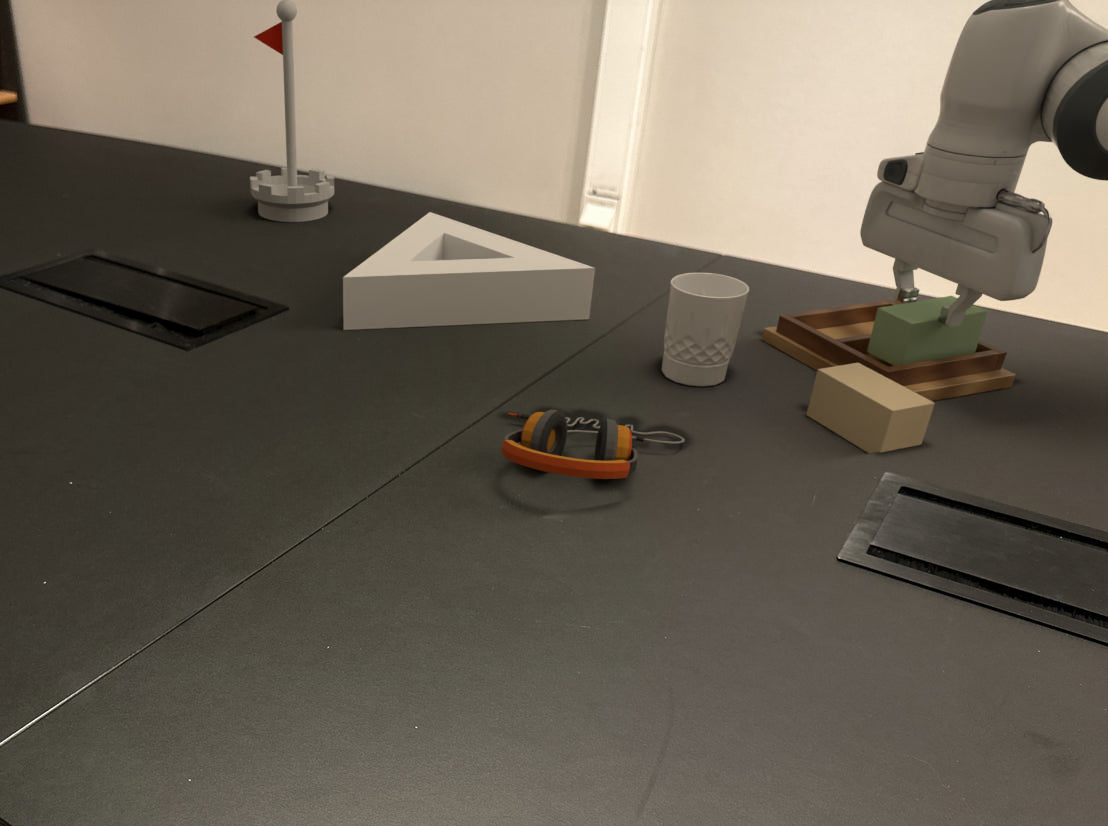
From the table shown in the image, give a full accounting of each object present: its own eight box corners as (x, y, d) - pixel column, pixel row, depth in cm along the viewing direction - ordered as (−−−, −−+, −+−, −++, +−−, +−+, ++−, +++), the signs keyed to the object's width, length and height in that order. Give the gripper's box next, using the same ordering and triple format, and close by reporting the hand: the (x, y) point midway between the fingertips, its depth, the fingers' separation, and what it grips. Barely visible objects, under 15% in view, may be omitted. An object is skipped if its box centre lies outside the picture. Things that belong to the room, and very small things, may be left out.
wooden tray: (876, 323, 128) (884, 295, 126) (1011, 387, 112) (1022, 356, 110) (761, 339, 122) (767, 311, 121) (885, 409, 107) (895, 377, 105)
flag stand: (344, 204, 170) (342, -4, 154) (321, 226, 159) (317, 5, 143) (267, 198, 172) (258, -7, 156) (239, 220, 161) (226, 1, 145)
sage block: (938, 338, 116) (951, 295, 114) (974, 355, 112) (988, 310, 110) (866, 352, 113) (877, 307, 111) (900, 369, 109) (912, 323, 107)
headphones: (692, 408, 100) (668, 453, 82) (682, 461, 102) (656, 516, 84) (522, 380, 105) (464, 417, 87) (515, 432, 107) (457, 478, 89)
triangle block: (428, 257, 147) (429, 212, 143) (613, 282, 139) (619, 234, 136) (343, 330, 123) (342, 277, 120) (560, 364, 115) (566, 308, 112)
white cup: (644, 377, 113) (658, 287, 107) (672, 354, 118) (687, 267, 113) (715, 395, 109) (734, 303, 104) (741, 371, 114) (759, 282, 109)
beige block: (805, 415, 105) (817, 368, 103) (845, 408, 107) (858, 362, 104) (877, 459, 98) (892, 410, 95) (919, 451, 99) (935, 402, 96)
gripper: (1083, 203, 96) (1030, 346, 103) (915, 154, 112) (880, 281, 119) (1031, 208, 94) (981, 354, 101) (868, 158, 110) (835, 286, 117)
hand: (925, 314), depth 110 cm, fingers closed on sage block, 5 cm apart
